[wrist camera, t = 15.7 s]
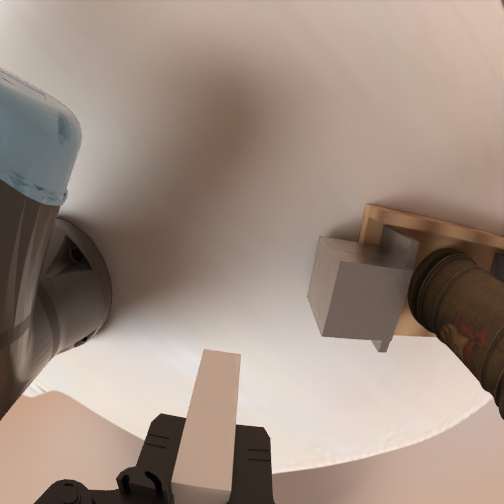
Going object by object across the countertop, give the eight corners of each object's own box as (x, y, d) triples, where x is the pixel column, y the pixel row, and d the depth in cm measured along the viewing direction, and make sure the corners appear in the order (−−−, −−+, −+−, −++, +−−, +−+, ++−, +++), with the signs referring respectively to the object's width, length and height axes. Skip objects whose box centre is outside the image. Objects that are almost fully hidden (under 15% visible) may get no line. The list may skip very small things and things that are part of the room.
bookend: (303, 315, 31) (315, 357, 24) (323, 214, 29) (345, 232, 21) (366, 321, 32) (391, 361, 24) (391, 226, 29) (428, 247, 22)
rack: (337, 324, 34) (375, 408, 21) (365, 203, 30) (436, 235, 17) (488, 332, 34) (545, 386, 21) (517, 240, 31) (591, 273, 18)
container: (438, 231, 29) (568, 299, 12) (483, 273, 30) (590, 346, 13) (390, 303, 31) (482, 418, 14) (439, 336, 32) (524, 436, 15)
